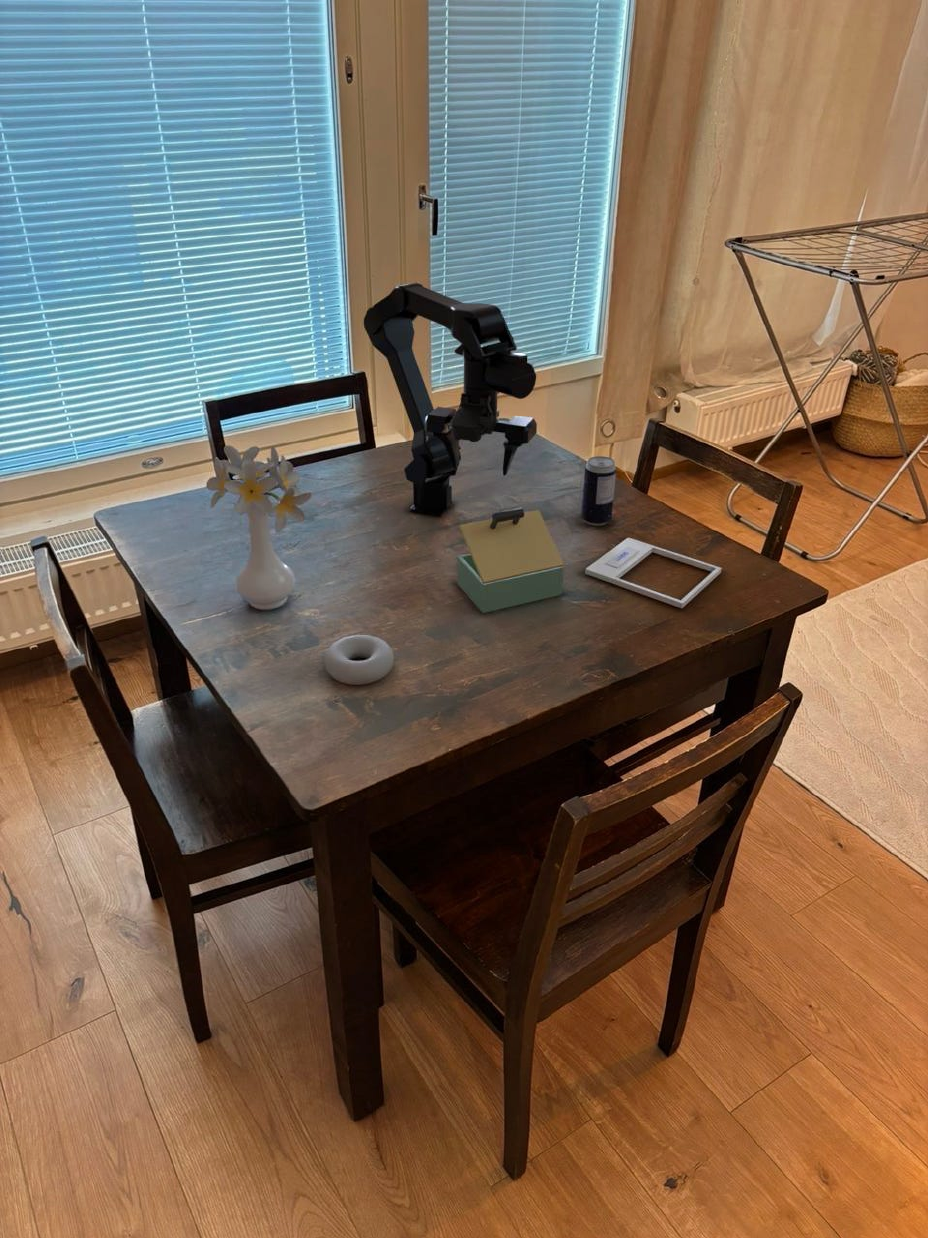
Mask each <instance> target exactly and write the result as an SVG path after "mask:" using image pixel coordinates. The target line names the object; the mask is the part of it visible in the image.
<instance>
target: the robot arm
mask: <svg viewBox="0 0 928 1238" xmlns="http://www.w3.org/2000/svg"><path fill="white" fill-rule="evenodd" d="M418 317H422V318H423V319H426V320H429V321H430V322H432V323H434V324H438V325H440V326H443V327H445V328H446V329H448V330H449V331H450V334H451V336H452V338H454V339H455V340H456V341H458V342H459V343H460V344H459V345H458V346H457V347H456V348H455V349H454V354H456V355H459V356H462V359H463V363H462V364H463V365H462V367H463V368H462V369H463V371H462V372H463V375H462V376H463V392H461V394H460V403H459V406H458V408H452V407H443V406H437V407H436V408H434V406H433V403H432V400H431V397H430V394H429V392H428V389H427V385H426V384H425V380H424V378H423V377H424V376H423V374H422V373H421V369H420V367H419V364H418V361H417V358H416V356H415V353H414V349H413V345H414V344H413V343H414V339H415V333H416V332H415V331H416V330H415V327H414V322H415V320H416V319H417V318H418ZM363 327H364V330H365V332H366V335H367V336H368V338H369V341H370V343H371V345H372V346H373V348H375V349H376V350H377V351H378V352H379V353H380V354H382V356H384V357H385V359H386V360H387V363H388V366H389V368H390V371H391V374H392V377H393V380H394V382H395V385H396V388H397V390H398V393H399V396H400V398H401V401H402V404H403V407H404V409H405V412H406V415H407V418H408V421H409V423H410V426H411V428H412V429H411V430H412V432H413V436H412V441H411V448H410V449H411V454H412V460H411V461H410V462H409V463H408V464H407V465H406V467H404V468H403V470H404V475H405V478H406V481H409V482H410V483H412V487H413V488H412V490H413V492H412V495H413V505H411V506H410V507H409V509H410V511H411V512H416V513H422V514H426V515H433V516H438V517H439V516H440V517H441V516H442V515H443V514H444V513H445V512H446V511H447V510H448V509H449V508H450V507H451V506H452V505H453V501H454V500H453V496H452V495H453V488H452V487H453V486H452V485H451V484H450V477H452V476H453V477H454V476H456V475H457V472H458V469H459V466H460V462H461V460H462V454H461V450H462V449H461V446H460V441H469V442H471V443H478V442H479V441H481V440H482V437H483V436H485V435H492V434H493V432H494V433H501V434H504V438H505V441H503V442H502V445H503V448H504V453H503V461H502V476H504V477H505V476H506V475H508V472H509V470H510V467H511V465H512V462H513V460H514V457H515V454H516V452H517V450H518V448H520V447H522V446H523V445H525V444H529V442H530V441H532V439H533V438H534V437H535V436H536V435H537V433H538V432H537V430H538V424H537V422H536V419H535V418H534V417H530V416H529V417H528V416H519V415H514V416H512V418H511V419H510V420H509V421H505V420H498V418H499V417H500V409H498V395H499V394H503V395H505V396H506V395H507V396H509V397H511V398H512V397H513V398H515V399H519V400H522V399H525V398H527V397H528V396H529V395H531V394H532V392H533V391H534V388H535V385H536V381H537V373H536V370H535V368H534V366H533V365H532V363H529V362H528V355H527V354H525V353H517V352H516V351H517V349H518V346H517V345H516V342H515V341H514V340H515V338H514V336H513V334H512V333H511V331H510V328H509V326H508V323H507V322H506V320H505V317H504V315H503V313H502V310H501V309H500V308H499V307H498V306H497V305H495V304H490V303H481V302H474V303H473V302H469V303H468V302H463V301H460V300H457V299H454V298H453V297H450V296H447V295H445V294H442V293H440V292H437V291H435V290H432V289H430V288H427V287H424V285H422V284H421V283H418V282H410V283H406V284H400V285H399V284H398V285H397V286H396V287H394V288H393V289H392V290H391V292H390V293H389V294H388V295H386V296H385V297H383V298H382V299H381V300H379V301H378V302H377V303H375V304H374V305H373V306H371V307H369V308H367V310H366V312H365V316H364V317H363ZM492 342H495V343H492ZM489 343H491V344H489ZM485 344H488V345H485ZM483 345H484V346H483ZM514 351H515V352H514Z"/></svg>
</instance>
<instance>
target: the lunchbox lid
mask: <svg viewBox="0 0 928 1238" xmlns="http://www.w3.org/2000/svg"><path fill="white" fill-rule="evenodd" d="M459 530H460V532H461V535H462V538H463V539H464V542H465V544H466V546H467V549H468V551H469V554H471V556H472V559H473V561H474V563H475V566H476V568H477V571H478V573H479V575H480V578H481V580H482V583H483V584H485V583H490V582H494V581H499V580H503V579H508V578H512V577H517V576H521V575H526V574H530V573H535V572H539V571H544V570H548V569H553V568H557V567H562V566H563V567H564V565H565V563H564V562H563V559H562V557H561V554H560V553H559V551H558V547H557V546H556V543H555V542H554V540H553V538H552V535H551V533H550V530H549V528H548V526H547V524H546V522H545V520H544V517H543V515H542V513H541V511H540V509H535V510H530V511H524V508H523V507H518V508H513V509H508V510H503V511H497V512H493V513H492V514H491V518H489V519H485V520H479V521H474V522H468V523H464V524H459Z"/></svg>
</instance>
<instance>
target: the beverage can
mask: <svg viewBox="0 0 928 1238" xmlns="http://www.w3.org/2000/svg"><path fill="white" fill-rule="evenodd" d="M616 475H617V466H616V462H615V460H614V459H613V458H611V457H609V456H603V455H596V456H591V457H589V458H588V459H587V463H586V464H585V465H584V474H583V486H582V499H581V510H580V512H581V513H580V517H581V519H582V520H583V521H584V523H586V524H587V525H589V526H593V527H601V526H604V525H606V524H607V523H608V522H610V521H611V520H612V517H613V516H612V515H613V507H614V506H613V505H614V497H615V496H614V495H615V485H616V477H617V476H616Z"/></svg>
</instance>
